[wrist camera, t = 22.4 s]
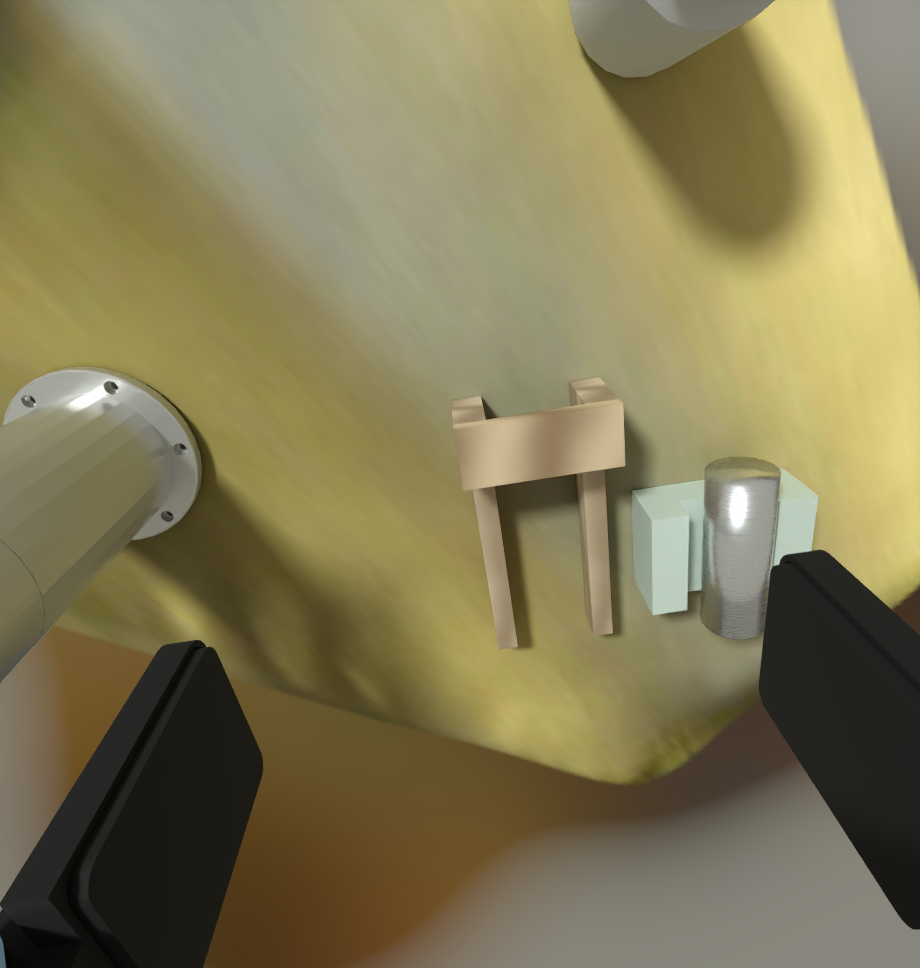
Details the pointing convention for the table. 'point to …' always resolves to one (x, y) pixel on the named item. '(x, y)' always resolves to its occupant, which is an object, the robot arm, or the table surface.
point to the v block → (700, 537)
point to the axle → (738, 544)
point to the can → (654, 30)
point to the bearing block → (537, 455)
